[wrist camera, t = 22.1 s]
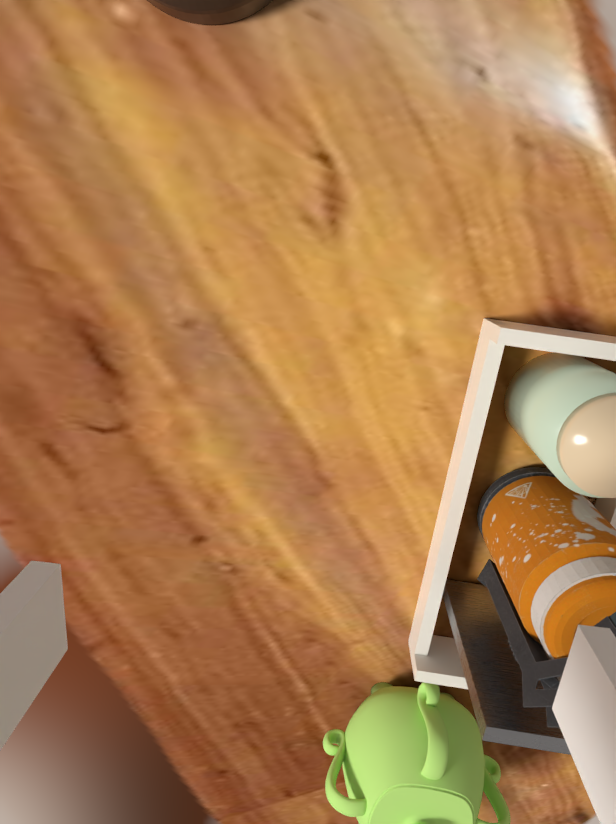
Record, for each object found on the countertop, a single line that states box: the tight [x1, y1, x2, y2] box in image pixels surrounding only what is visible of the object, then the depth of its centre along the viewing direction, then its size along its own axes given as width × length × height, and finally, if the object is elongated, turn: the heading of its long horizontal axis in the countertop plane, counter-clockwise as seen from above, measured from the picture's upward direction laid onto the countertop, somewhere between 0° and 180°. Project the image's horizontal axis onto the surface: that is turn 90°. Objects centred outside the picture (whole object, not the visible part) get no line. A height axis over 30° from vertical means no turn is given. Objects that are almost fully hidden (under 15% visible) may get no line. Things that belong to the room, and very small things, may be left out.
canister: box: [477, 467, 616, 728], centre depth 38 cm, size 9×11×20 cm
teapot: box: [323, 682, 510, 824], centre depth 50 cm, size 16×14×13 cm
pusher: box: [443, 579, 571, 755], centre depth 43 cm, size 3×11×16 cm, turn 83°
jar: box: [504, 352, 616, 498], centre depth 39 cm, size 8×8×11 cm
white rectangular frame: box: [408, 318, 616, 689], centre depth 45 cm, size 32×14×5 cm, turn 173°
